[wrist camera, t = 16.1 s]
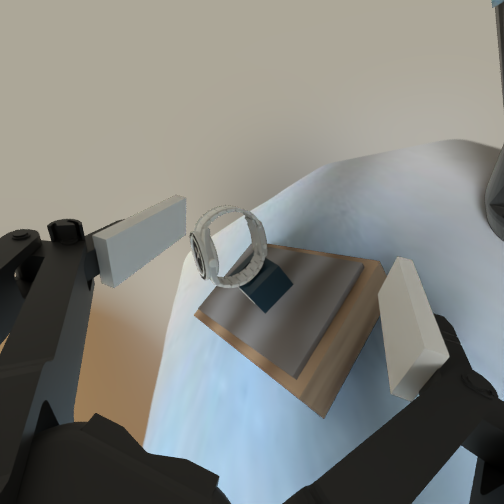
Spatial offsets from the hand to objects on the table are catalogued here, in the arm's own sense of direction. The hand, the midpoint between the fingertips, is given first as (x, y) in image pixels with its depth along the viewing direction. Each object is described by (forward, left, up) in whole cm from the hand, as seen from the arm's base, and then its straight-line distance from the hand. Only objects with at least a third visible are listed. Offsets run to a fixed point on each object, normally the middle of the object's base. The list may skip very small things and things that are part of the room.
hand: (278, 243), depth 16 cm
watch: (+10, -1, -10) cm, 15 cm away
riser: (+11, -1, -15) cm, 19 cm away
